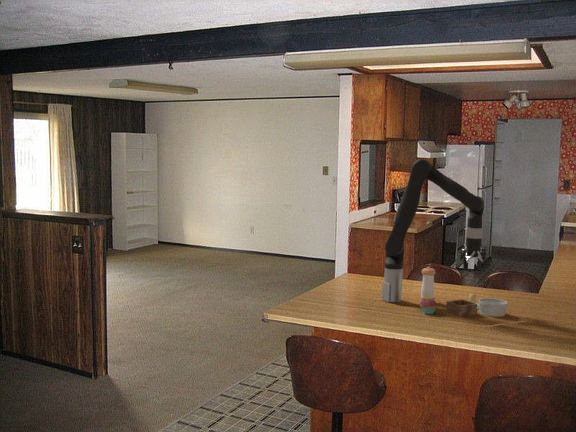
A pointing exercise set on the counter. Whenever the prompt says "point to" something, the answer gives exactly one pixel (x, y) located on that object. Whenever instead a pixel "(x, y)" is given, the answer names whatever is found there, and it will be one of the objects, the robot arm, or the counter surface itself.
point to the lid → (473, 299)
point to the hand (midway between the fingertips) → (472, 269)
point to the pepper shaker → (427, 284)
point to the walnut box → (461, 308)
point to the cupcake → (428, 305)
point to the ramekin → (492, 307)
